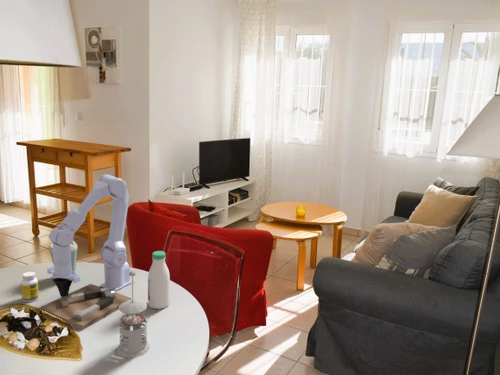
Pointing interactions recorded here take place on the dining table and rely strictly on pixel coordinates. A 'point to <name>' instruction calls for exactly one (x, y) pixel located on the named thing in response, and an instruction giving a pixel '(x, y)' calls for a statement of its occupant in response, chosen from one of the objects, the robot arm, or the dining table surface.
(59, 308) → the cutting board
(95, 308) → the tongs fixed arm
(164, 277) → the milk bottle
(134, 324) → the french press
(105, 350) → the dining table surface
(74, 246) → the disposable coffee cup
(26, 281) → the supplement bottle
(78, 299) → the tongs arm
